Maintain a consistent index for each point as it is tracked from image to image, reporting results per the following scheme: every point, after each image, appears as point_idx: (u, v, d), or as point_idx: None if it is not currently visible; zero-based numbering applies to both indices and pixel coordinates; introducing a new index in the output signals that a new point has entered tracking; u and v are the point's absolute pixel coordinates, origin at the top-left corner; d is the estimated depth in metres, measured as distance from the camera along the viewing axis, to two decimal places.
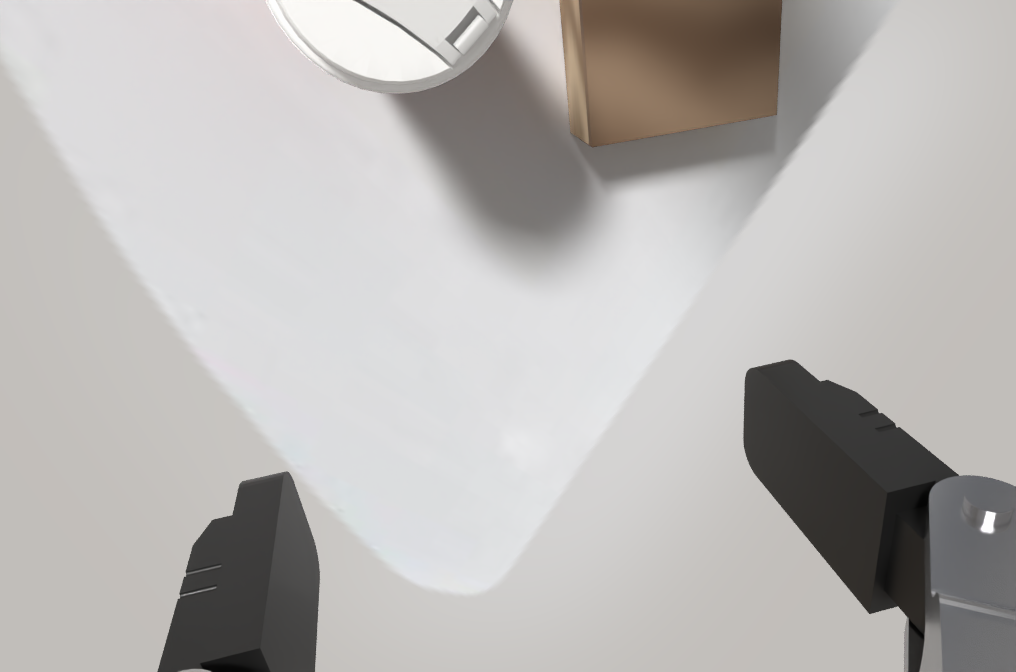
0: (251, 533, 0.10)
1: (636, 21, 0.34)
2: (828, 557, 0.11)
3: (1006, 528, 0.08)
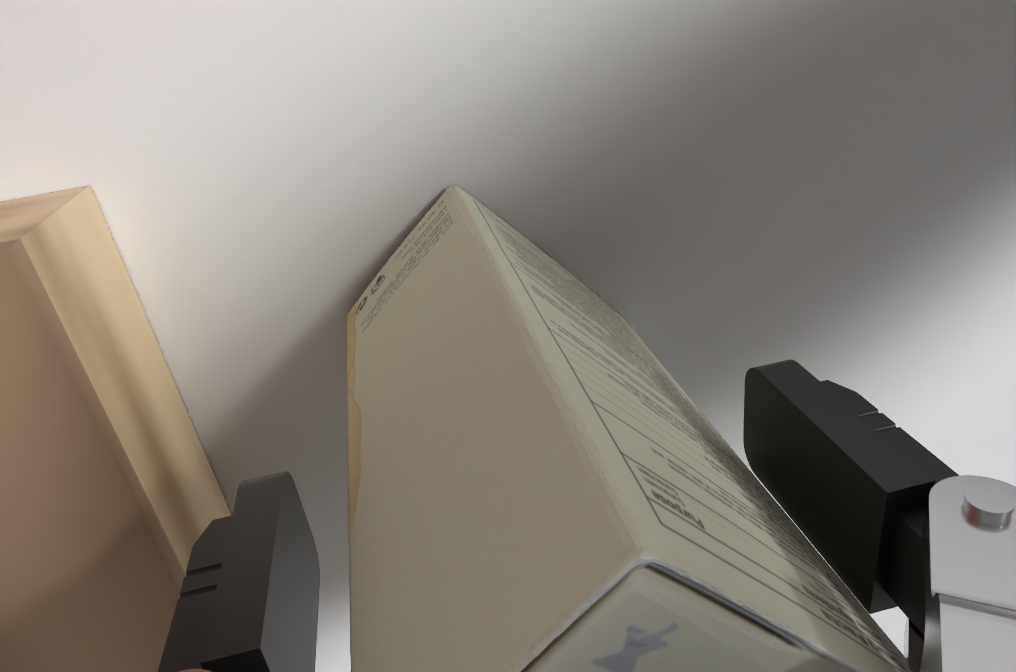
0: (251, 533, 0.10)
1: None
2: (828, 558, 0.11)
3: (1006, 528, 0.08)
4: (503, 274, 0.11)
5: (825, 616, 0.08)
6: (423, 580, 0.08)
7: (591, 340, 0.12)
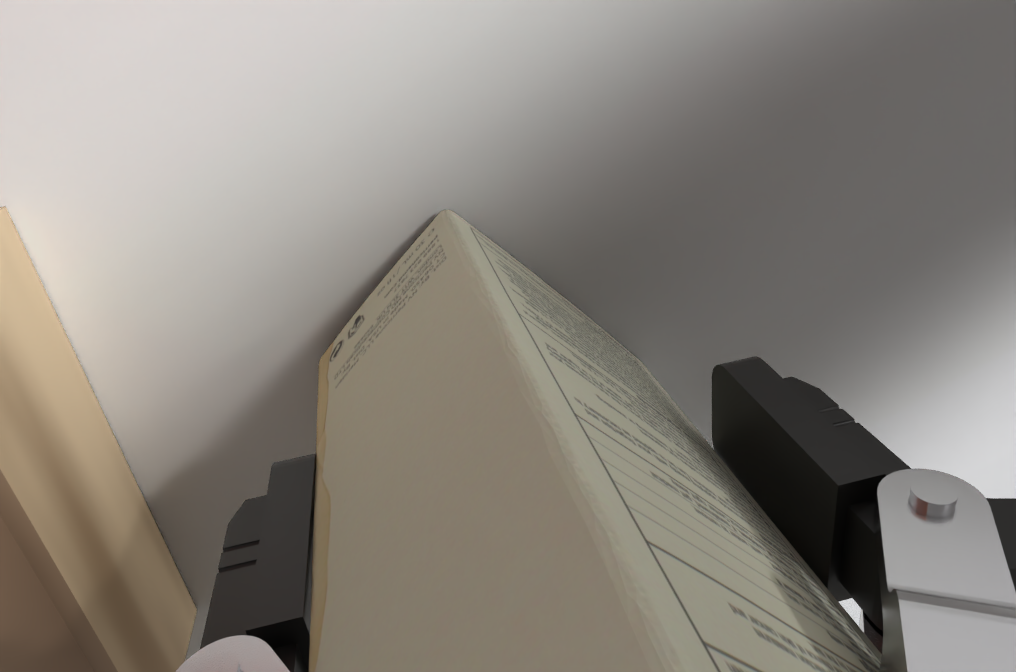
0: (286, 510, 0.10)
1: None
2: None
3: (949, 519, 0.08)
4: (512, 335, 0.09)
5: None
6: None
7: (622, 416, 0.09)
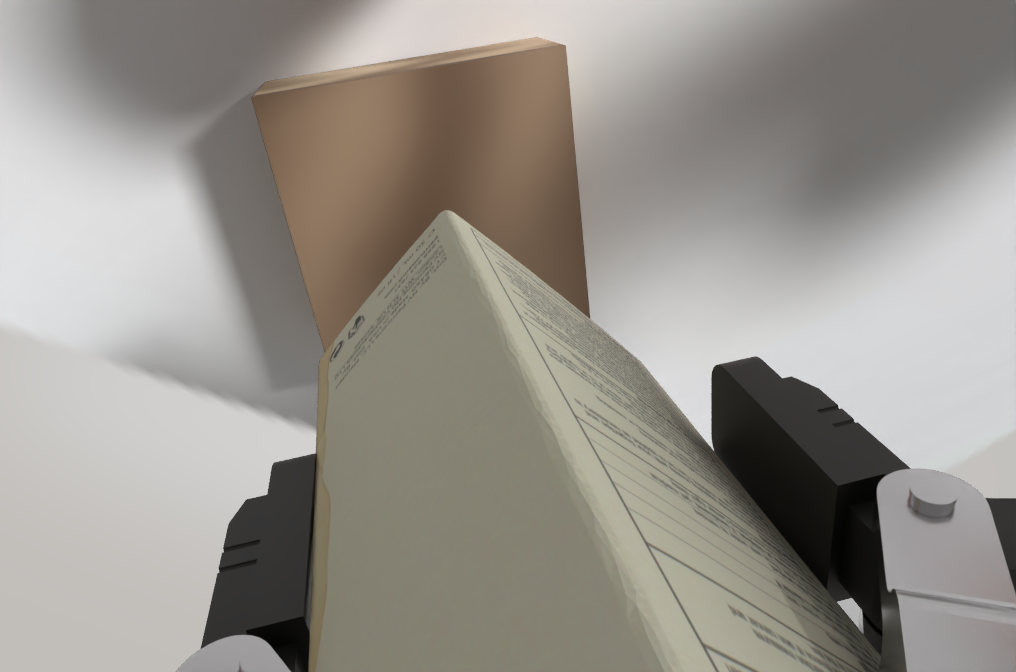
0: (287, 510, 0.10)
1: (442, 150, 0.24)
2: None
3: (948, 519, 0.08)
4: (512, 336, 0.09)
5: None
6: None
7: (622, 418, 0.09)
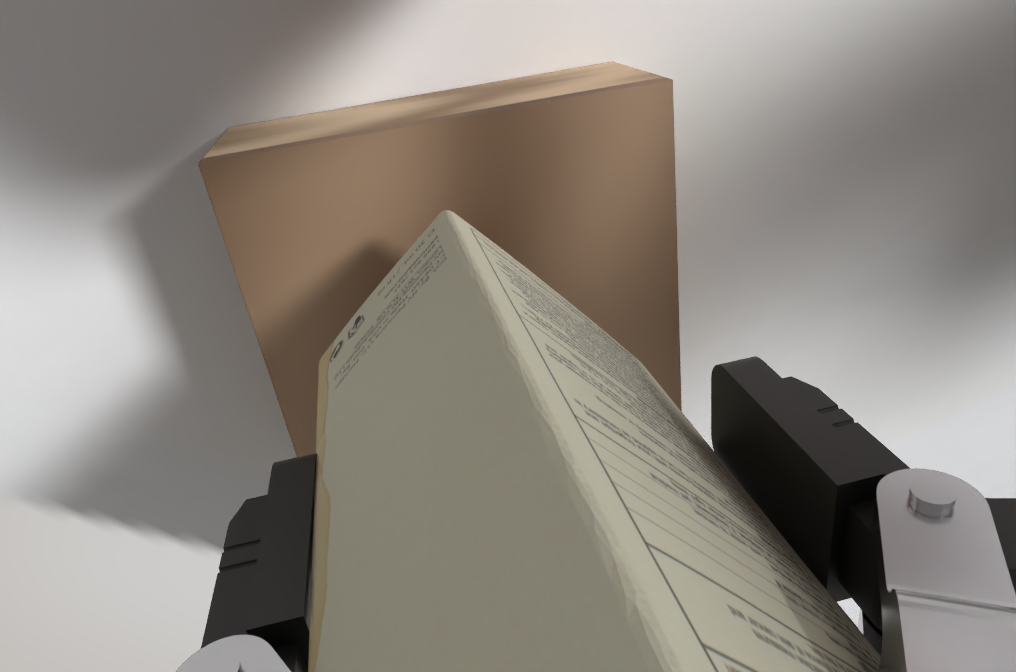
0: (287, 510, 0.10)
1: (486, 233, 0.16)
2: None
3: (948, 519, 0.08)
4: (512, 336, 0.09)
5: None
6: None
7: (622, 418, 0.09)
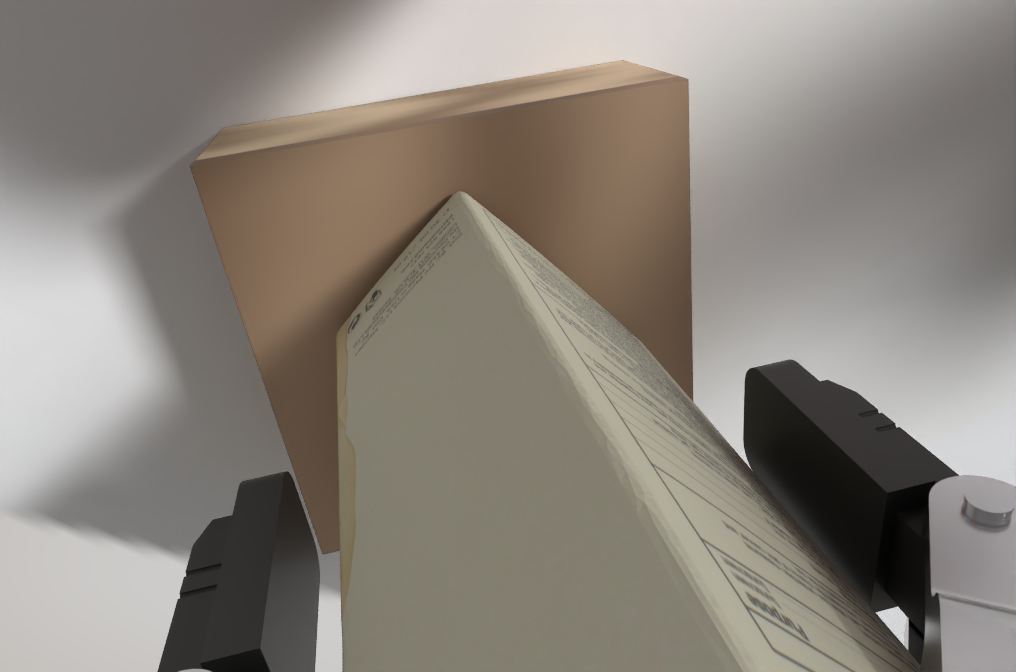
0: (251, 533, 0.10)
1: None
2: (828, 557, 0.11)
3: (1006, 528, 0.08)
4: (528, 297, 0.10)
5: None
6: None
7: (626, 375, 0.10)
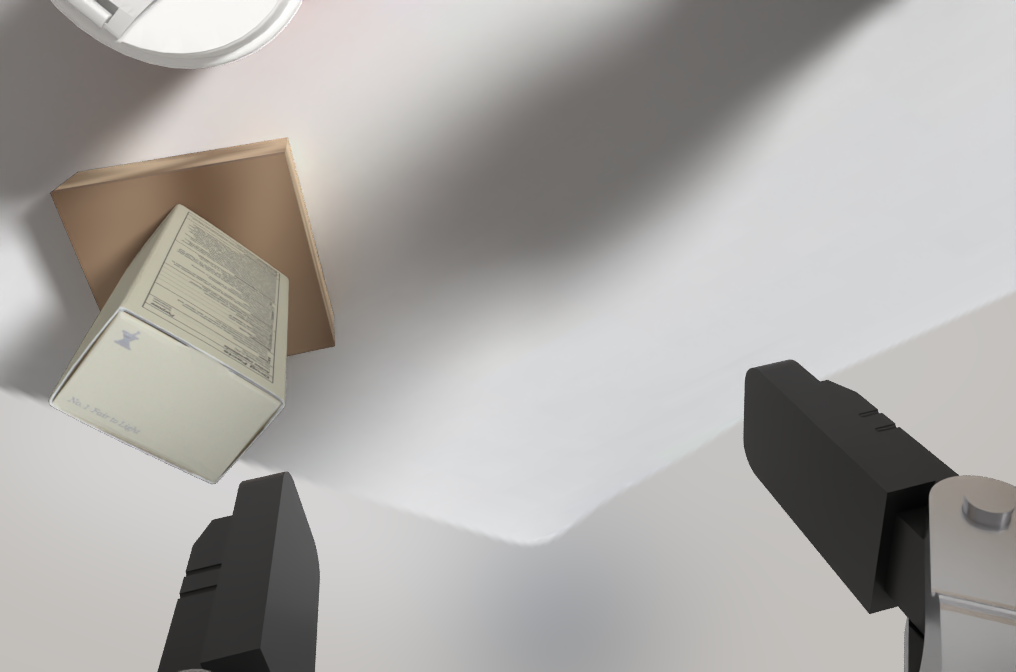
0: (251, 533, 0.10)
1: None
2: (828, 558, 0.11)
3: (1006, 528, 0.08)
4: (158, 242, 0.27)
5: (222, 350, 0.24)
6: (87, 338, 0.24)
7: (201, 272, 0.28)
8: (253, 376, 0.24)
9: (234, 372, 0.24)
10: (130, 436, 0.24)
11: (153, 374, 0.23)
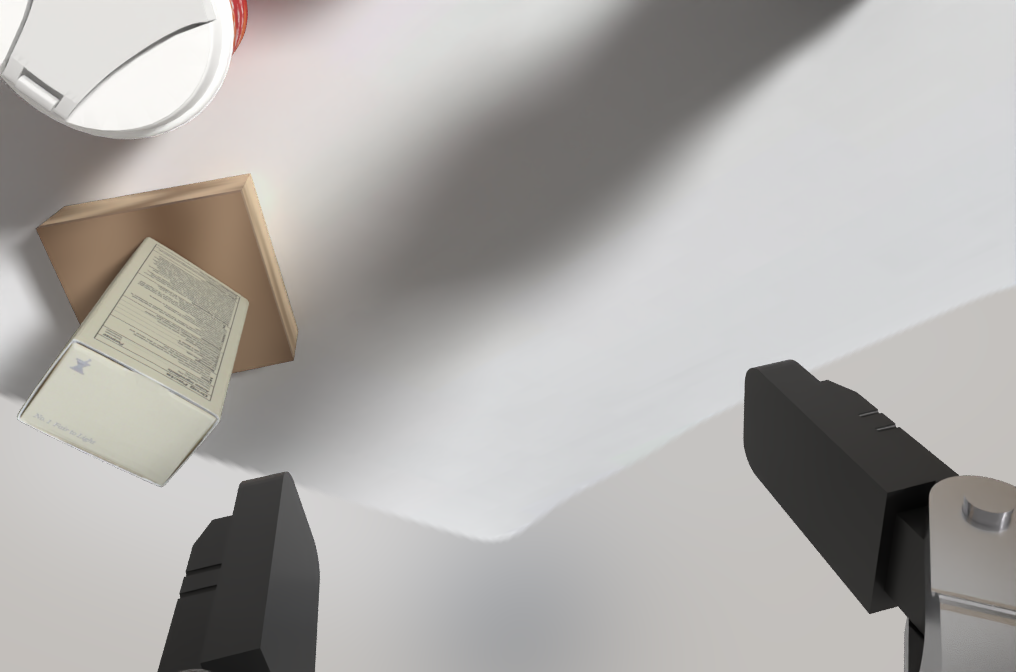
0: (251, 533, 0.10)
1: None
2: (828, 558, 0.11)
3: (1006, 528, 0.08)
4: (120, 276, 0.32)
5: (165, 373, 0.28)
6: None
7: (158, 301, 0.32)
8: (192, 395, 0.28)
9: (174, 392, 0.28)
10: (87, 446, 0.28)
11: (104, 394, 0.27)
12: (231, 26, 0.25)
